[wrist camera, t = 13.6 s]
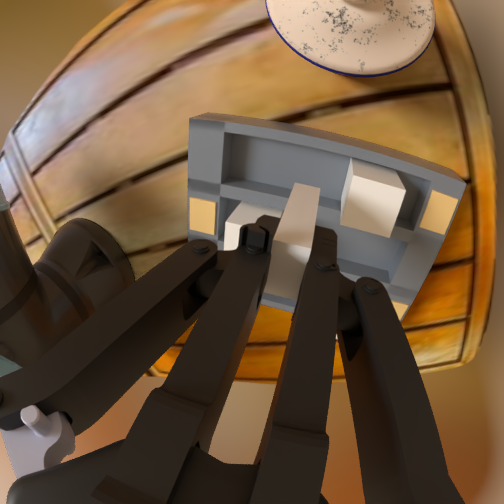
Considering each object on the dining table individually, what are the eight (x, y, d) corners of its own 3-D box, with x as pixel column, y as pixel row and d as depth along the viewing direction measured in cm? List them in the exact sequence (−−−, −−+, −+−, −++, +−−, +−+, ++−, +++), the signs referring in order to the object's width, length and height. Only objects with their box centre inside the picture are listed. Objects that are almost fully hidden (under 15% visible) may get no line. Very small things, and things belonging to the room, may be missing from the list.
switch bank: (202, 264, 34) (188, 284, 31) (207, 112, 24) (188, 118, 21) (390, 313, 30) (392, 337, 27) (452, 170, 20) (467, 184, 17)
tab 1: (242, 230, 28) (223, 260, 24) (245, 195, 26) (225, 221, 22) (279, 239, 27) (266, 272, 23) (285, 204, 25) (273, 232, 21)
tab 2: (341, 197, 23) (340, 224, 19) (351, 156, 21) (353, 175, 17) (382, 208, 23) (389, 237, 19) (394, 168, 21) (405, 190, 17)
